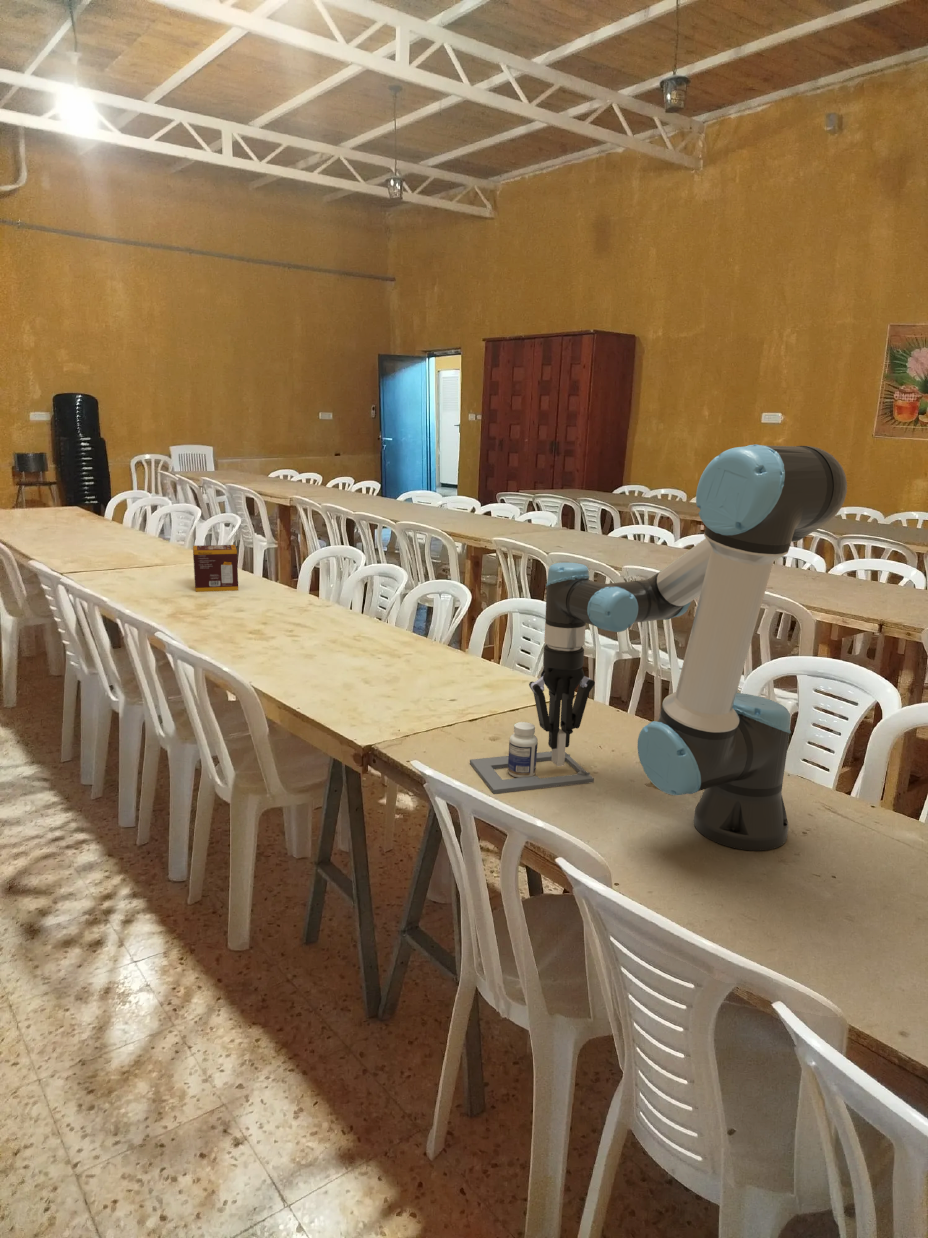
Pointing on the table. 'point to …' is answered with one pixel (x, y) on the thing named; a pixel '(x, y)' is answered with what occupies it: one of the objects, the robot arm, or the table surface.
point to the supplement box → (215, 568)
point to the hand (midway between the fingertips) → (557, 763)
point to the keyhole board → (526, 783)
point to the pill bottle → (522, 750)
